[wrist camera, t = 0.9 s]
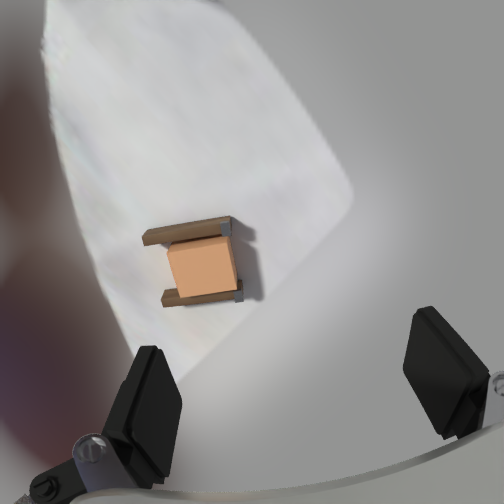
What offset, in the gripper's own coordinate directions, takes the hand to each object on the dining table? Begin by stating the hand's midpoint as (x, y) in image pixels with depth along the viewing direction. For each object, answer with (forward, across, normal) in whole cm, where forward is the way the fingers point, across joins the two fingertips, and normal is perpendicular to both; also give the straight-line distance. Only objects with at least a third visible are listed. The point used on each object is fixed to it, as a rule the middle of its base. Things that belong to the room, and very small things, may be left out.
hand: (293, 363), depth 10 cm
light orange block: (+27, +8, +6) cm, 29 cm away
